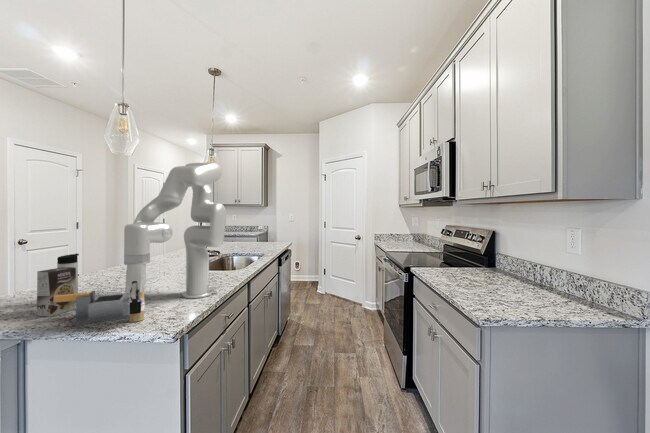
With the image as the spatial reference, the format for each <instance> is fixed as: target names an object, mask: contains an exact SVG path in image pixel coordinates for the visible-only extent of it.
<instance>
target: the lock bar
mask: <svg viewBox="0 0 650 433" xmlns="http://www.w3.org/2000/svg"><path fill="white" fill-rule="evenodd" d="M84 296H91V300H94V299H95V297H96V290H91V291H90V292H80V293H79V292H78V293H77V294H65V295H56V296H54V303H55V302H66V301H76V298H77V297H84Z"/></svg>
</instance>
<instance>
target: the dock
mask: <svg viewBox="0 0 650 433" xmlns="http://www.w3.org/2000/svg"><path fill="white" fill-rule="evenodd" d="M126 319H130V312H129V293H128V294H126V293H116V294H107V295H106V294H105V295H102V294H101V295H95V299H94V300H91V296H84V297H77V298H76V309H75V318H74V319H72V321H70V326H75V325H76V326H77V325H82V324H89V323H90V324H93V323H100V322H108V321H115V320H126Z"/></svg>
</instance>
